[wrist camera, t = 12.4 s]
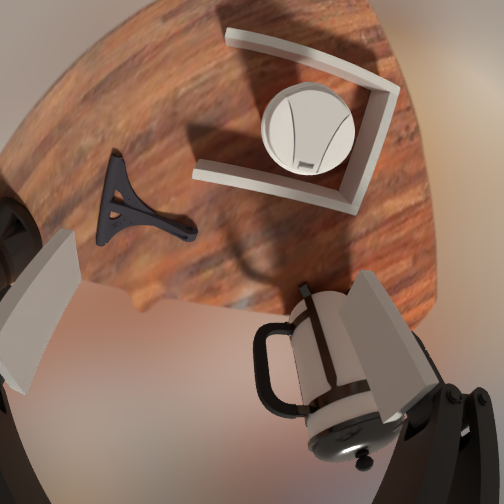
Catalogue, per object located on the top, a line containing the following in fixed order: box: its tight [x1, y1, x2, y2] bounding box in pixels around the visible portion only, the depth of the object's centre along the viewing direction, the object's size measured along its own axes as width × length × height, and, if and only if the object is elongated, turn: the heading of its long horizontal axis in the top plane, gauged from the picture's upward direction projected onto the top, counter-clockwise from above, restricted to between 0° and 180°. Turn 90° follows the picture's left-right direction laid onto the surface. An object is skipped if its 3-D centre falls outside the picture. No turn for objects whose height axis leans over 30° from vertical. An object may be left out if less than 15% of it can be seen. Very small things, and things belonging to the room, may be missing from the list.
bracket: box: [96, 154, 198, 246], centre depth 36 cm, size 14×15×3 cm
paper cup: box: [261, 82, 355, 175], centre depth 25 cm, size 8×8×14 cm
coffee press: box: [253, 282, 404, 471], centre depth 35 cm, size 17×16×30 cm
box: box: [192, 27, 401, 216], centre depth 29 cm, size 20×17×5 cm
